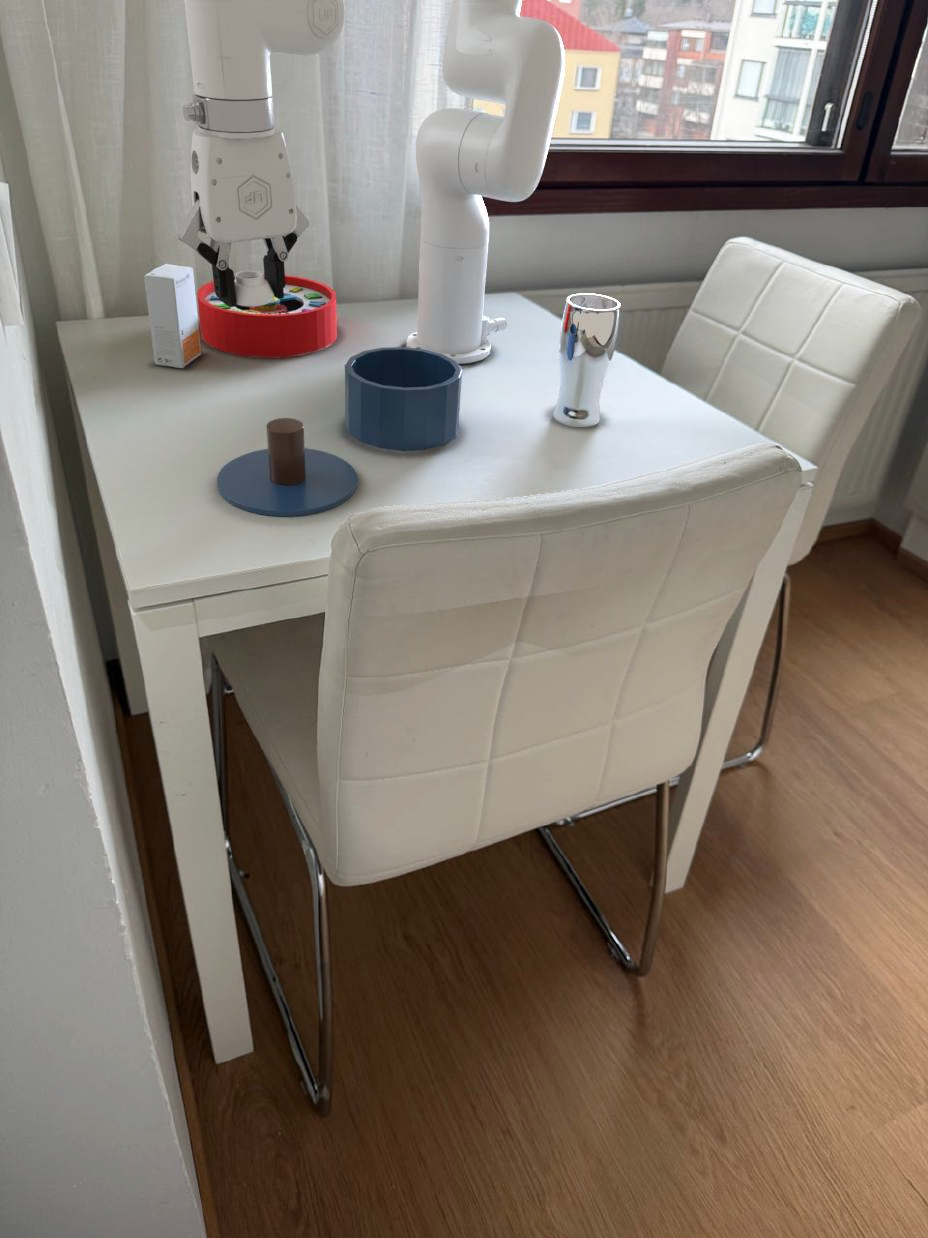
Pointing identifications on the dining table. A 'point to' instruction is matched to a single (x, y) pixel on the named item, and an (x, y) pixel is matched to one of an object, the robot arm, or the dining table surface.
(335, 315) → the toy clock
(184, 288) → the cosmetic box
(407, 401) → the tin
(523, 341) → the dining table surface
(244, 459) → the tin lid
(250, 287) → the lidless jar
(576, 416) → the beer glass
